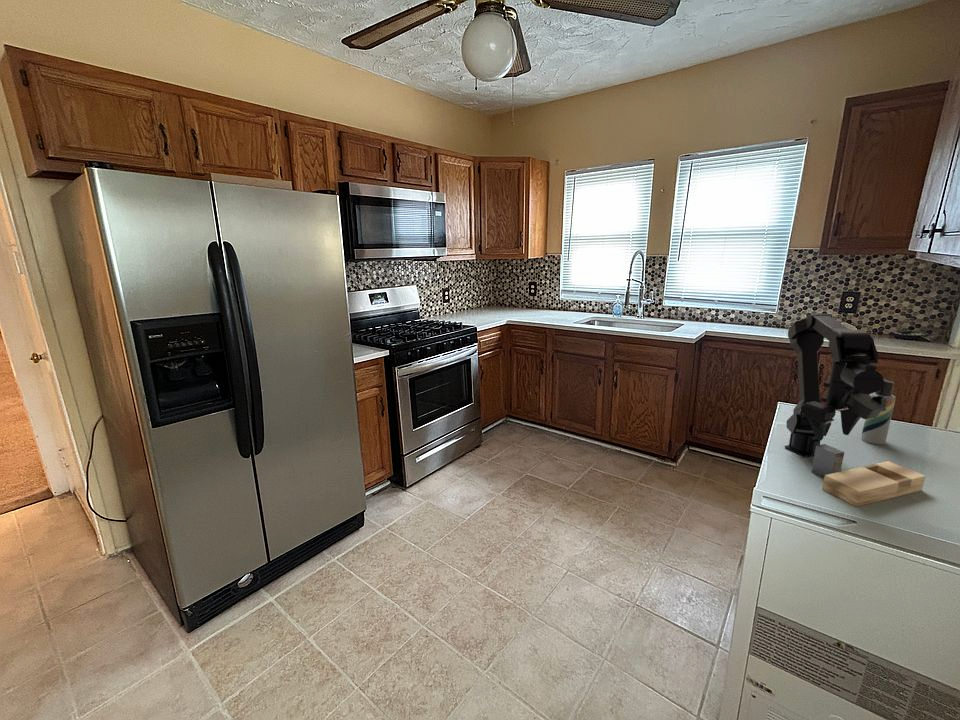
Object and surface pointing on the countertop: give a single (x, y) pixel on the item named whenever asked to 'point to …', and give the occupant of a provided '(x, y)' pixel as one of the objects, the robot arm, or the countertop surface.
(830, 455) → the grey gripped block
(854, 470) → the slotted wooden block
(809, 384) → the robot arm
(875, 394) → the lotion bottle
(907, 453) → the countertop surface
